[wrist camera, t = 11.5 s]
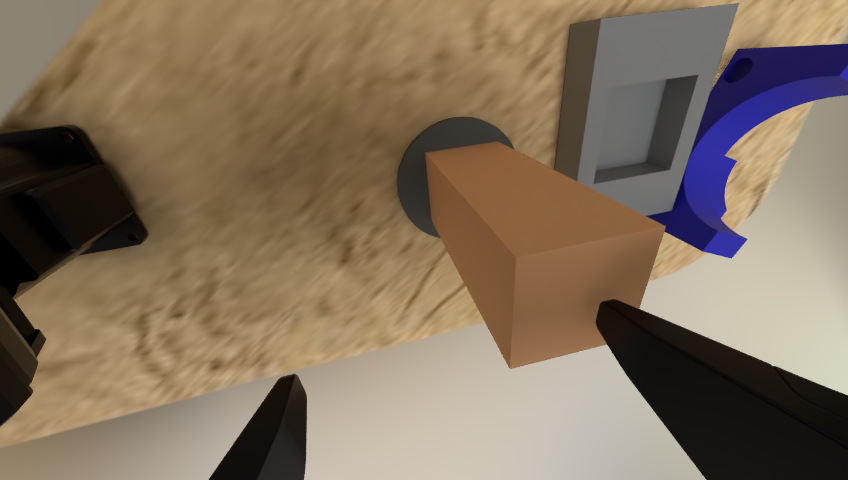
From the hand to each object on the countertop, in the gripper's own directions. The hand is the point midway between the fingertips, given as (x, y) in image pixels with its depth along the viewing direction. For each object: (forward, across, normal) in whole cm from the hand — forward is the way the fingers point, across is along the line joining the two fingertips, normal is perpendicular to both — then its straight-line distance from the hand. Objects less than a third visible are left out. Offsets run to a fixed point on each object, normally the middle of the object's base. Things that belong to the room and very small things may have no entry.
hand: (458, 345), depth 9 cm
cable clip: (+13, -23, +1) cm, 26 cm away
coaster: (+13, -4, 0) cm, 14 cm away
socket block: (+13, -15, -2) cm, 20 cm away
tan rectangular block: (+12, -4, 0) cm, 13 cm away
